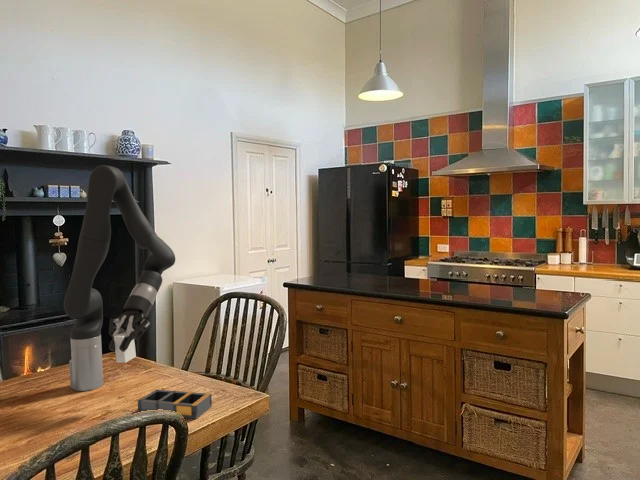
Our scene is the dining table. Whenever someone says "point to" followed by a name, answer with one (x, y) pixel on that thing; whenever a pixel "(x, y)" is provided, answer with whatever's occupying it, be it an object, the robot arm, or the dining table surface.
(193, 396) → the slot rack
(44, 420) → the dining table surface
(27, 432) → the dining table surface
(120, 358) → the white rectangular block
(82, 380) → the robot arm
